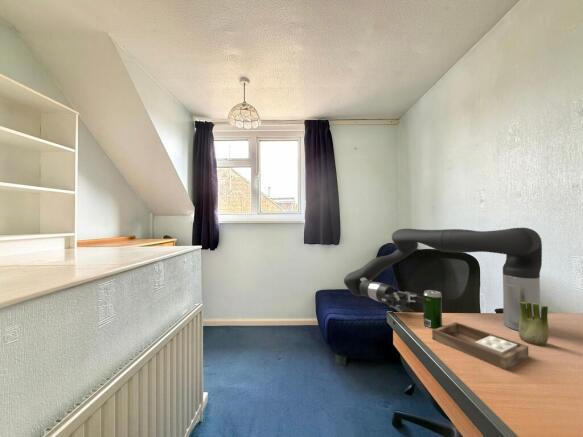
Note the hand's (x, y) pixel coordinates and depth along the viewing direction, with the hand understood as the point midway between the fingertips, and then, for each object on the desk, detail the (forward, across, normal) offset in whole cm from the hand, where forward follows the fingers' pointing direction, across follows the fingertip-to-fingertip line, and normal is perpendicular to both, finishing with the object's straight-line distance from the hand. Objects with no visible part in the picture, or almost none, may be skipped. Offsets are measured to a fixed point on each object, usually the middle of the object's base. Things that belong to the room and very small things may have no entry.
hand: (418, 303), depth 91 cm
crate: (+20, -4, +7) cm, 22 cm away
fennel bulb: (+26, +14, +7) cm, 31 cm away
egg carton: (+25, -4, +6) cm, 26 cm away
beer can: (+5, 0, +7) cm, 9 cm away
